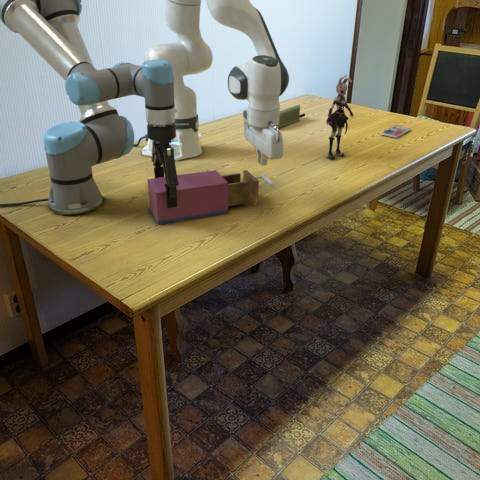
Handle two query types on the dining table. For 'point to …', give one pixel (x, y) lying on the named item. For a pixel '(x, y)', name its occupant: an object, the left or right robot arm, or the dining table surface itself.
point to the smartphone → (395, 131)
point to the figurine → (338, 116)
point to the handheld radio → (289, 116)
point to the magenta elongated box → (189, 197)
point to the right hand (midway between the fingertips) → (262, 163)
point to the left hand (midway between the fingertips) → (166, 197)
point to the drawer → (244, 187)
